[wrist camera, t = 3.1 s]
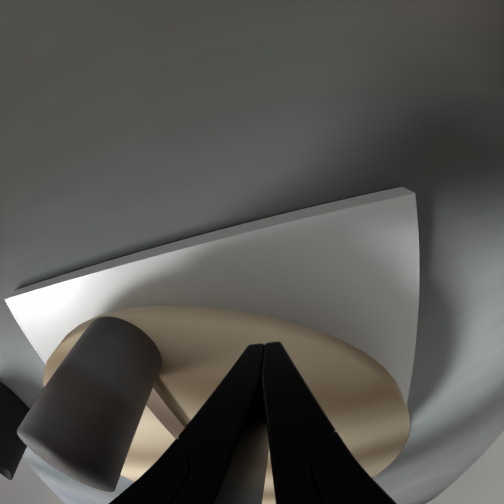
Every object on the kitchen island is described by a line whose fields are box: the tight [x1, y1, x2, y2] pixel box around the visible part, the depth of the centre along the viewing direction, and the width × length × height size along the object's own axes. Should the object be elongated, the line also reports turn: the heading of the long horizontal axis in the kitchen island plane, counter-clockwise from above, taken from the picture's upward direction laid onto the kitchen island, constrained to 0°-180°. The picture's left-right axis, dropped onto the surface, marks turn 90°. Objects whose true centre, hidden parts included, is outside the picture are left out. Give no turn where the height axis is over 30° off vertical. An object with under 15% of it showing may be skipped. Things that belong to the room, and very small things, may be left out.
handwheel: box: [17, 306, 411, 504], centre depth 12 cm, size 22×21×8 cm
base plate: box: [5, 187, 420, 406], centre depth 16 cm, size 23×23×1 cm
